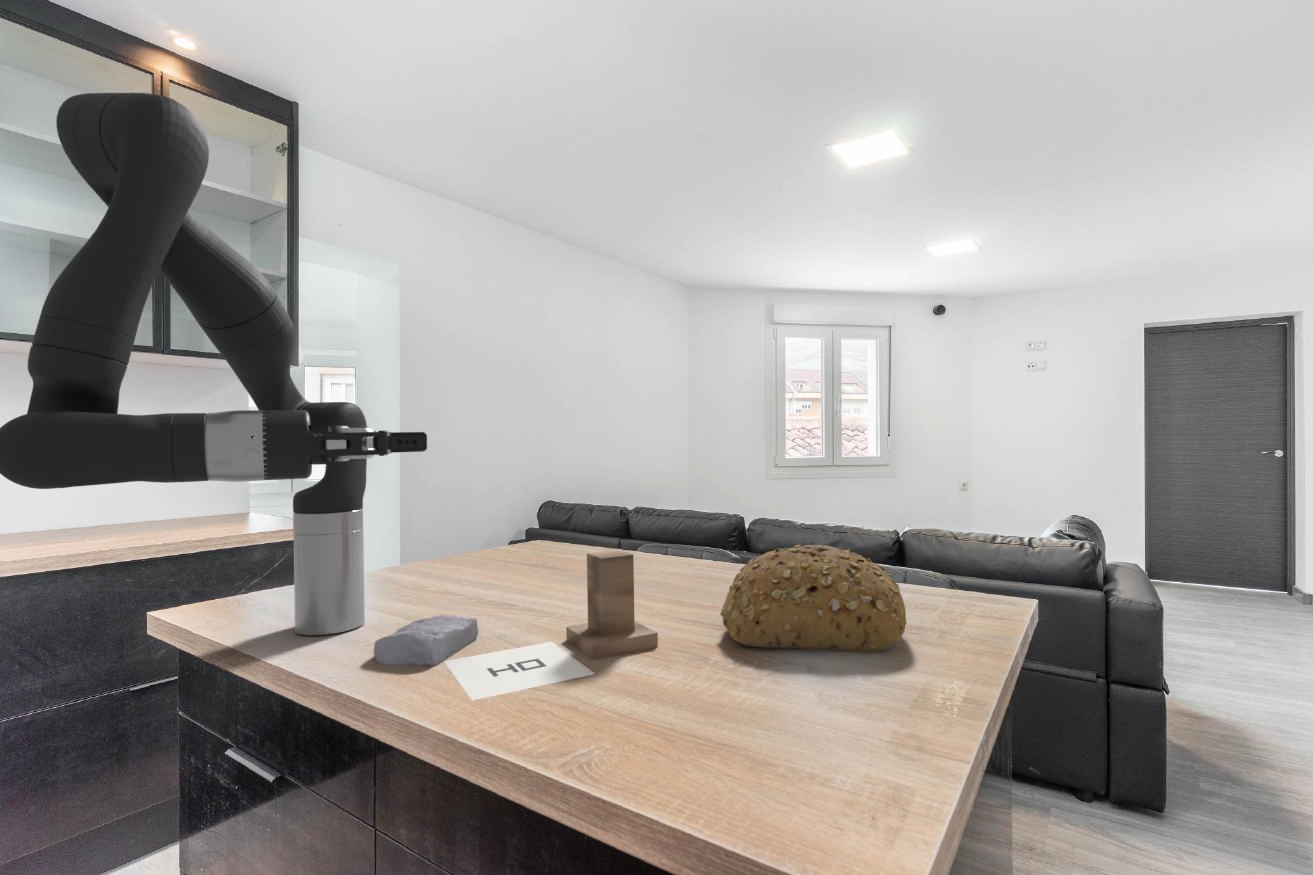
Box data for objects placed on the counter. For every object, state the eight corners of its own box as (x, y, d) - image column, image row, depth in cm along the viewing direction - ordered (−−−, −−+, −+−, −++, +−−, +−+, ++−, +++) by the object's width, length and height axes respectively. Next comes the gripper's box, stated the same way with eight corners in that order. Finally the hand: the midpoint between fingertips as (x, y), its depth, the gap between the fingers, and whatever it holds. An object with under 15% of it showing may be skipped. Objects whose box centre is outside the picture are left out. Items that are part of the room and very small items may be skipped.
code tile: (443, 662, 79) (443, 661, 79) (551, 642, 86) (551, 641, 86) (472, 701, 67) (472, 700, 67) (595, 674, 74) (595, 673, 74)
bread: (883, 613, 98) (882, 534, 98) (922, 661, 77) (920, 561, 77) (723, 610, 101) (722, 534, 101) (718, 655, 80) (716, 559, 80)
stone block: (367, 680, 79) (441, 668, 77) (360, 641, 79) (434, 628, 77) (420, 652, 90) (485, 640, 88) (414, 618, 91) (479, 606, 89)
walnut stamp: (566, 641, 86) (565, 552, 87) (626, 630, 91) (624, 546, 91) (594, 660, 79) (592, 563, 79) (657, 647, 83) (656, 555, 83)
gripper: (257, 408, 62) (431, 407, 71) (260, 412, 75) (408, 411, 83) (259, 485, 63) (432, 475, 71) (262, 476, 75) (409, 469, 83)
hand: (419, 441), depth 77 cm, fingers open, 8 cm apart
